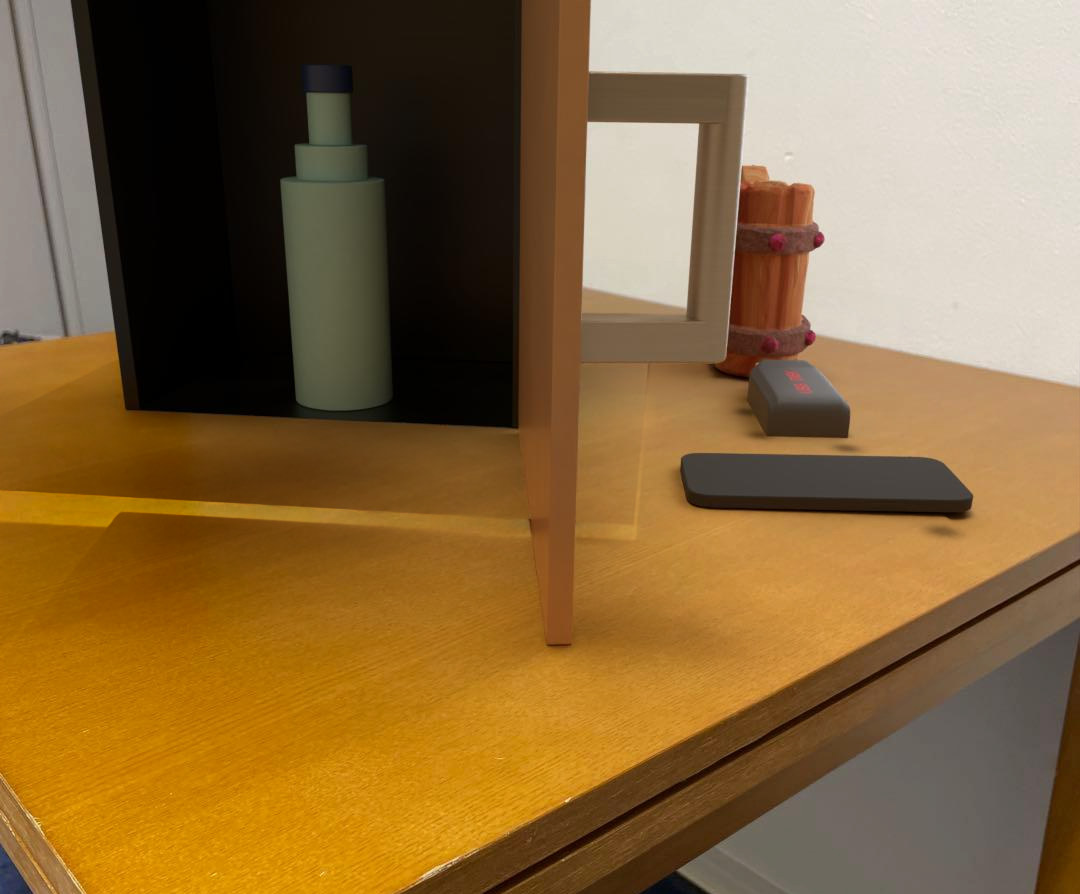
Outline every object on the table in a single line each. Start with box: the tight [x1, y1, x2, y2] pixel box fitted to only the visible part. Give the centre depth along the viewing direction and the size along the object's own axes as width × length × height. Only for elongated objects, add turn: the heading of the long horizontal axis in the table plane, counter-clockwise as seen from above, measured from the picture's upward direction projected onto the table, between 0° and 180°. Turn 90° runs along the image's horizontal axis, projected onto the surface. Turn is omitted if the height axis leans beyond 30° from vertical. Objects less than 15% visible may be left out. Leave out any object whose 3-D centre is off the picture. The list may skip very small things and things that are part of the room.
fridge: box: [70, 0, 522, 430], centre depth 71 cm, size 18×26×32 cm
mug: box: [713, 164, 825, 379], centre depth 86 cm, size 15×8×15 cm, turn 0°
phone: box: [679, 452, 974, 513], centre depth 60 cm, size 7×1×15 cm
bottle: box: [280, 65, 393, 411], centre depth 69 cm, size 6×6×20 cm
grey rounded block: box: [746, 359, 851, 439], centre depth 75 cm, size 5×12×3 cm, turn 178°
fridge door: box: [517, 0, 750, 645], centre depth 49 cm, size 7×26×32 cm, turn 4°
